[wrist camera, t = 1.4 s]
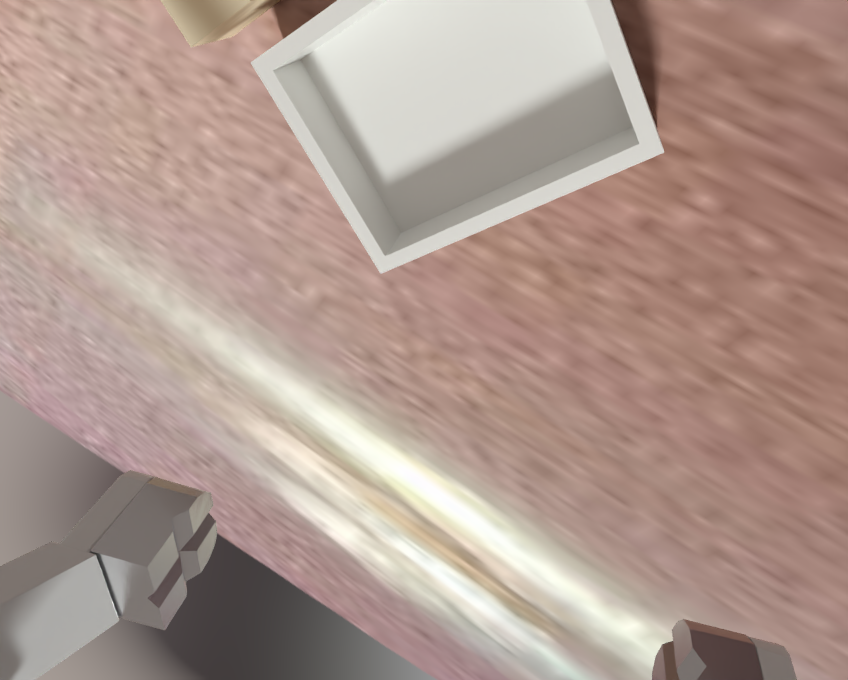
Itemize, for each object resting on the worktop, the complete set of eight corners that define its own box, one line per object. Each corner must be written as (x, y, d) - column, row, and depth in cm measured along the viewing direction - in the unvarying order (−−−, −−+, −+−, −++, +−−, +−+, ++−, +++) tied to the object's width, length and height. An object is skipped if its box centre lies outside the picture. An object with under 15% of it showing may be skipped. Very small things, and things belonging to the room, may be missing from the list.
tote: (560, -143, 30) (554, -156, 26) (657, 129, 36) (664, 152, 32) (287, 50, 39) (250, 62, 35) (400, 243, 44) (380, 273, 40)
